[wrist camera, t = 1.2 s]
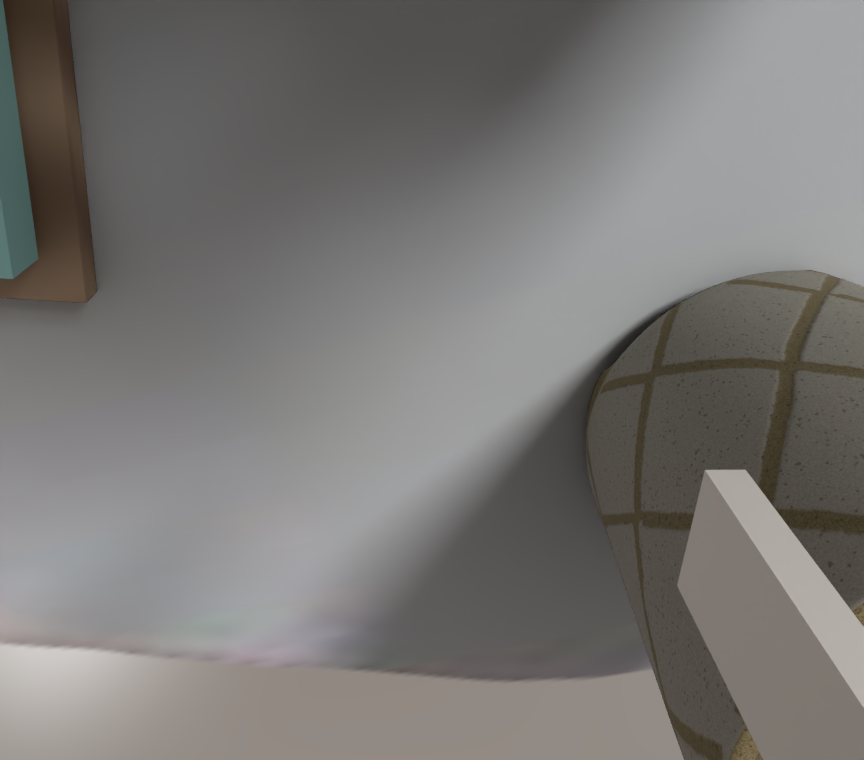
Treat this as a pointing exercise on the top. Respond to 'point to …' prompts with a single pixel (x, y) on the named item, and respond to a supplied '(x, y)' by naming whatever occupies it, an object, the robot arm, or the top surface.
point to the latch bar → (13, 175)
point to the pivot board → (50, 154)
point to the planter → (730, 460)
